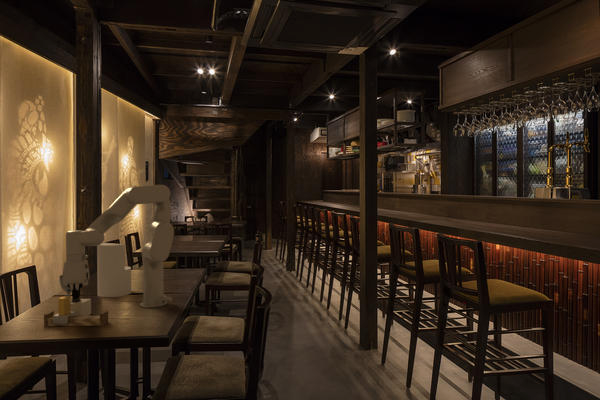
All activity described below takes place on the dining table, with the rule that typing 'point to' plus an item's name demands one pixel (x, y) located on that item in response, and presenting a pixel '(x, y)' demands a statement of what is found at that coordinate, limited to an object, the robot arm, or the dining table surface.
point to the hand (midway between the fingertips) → (76, 298)
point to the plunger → (75, 300)
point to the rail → (79, 320)
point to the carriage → (63, 311)
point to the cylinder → (112, 271)
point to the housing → (82, 307)
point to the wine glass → (64, 286)
